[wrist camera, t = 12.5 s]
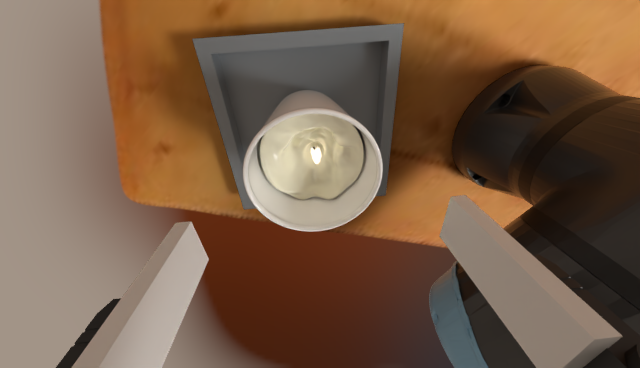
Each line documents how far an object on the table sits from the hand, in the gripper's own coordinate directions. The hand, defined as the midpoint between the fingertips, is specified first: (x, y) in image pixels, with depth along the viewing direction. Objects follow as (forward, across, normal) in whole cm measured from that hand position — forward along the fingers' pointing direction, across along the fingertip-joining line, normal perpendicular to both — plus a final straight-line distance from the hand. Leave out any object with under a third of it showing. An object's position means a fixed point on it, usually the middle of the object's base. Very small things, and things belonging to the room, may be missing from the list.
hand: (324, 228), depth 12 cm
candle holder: (+17, 0, 0) cm, 17 cm away
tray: (+18, 0, 0) cm, 18 cm away
